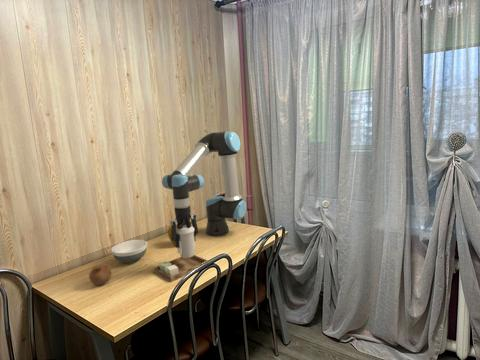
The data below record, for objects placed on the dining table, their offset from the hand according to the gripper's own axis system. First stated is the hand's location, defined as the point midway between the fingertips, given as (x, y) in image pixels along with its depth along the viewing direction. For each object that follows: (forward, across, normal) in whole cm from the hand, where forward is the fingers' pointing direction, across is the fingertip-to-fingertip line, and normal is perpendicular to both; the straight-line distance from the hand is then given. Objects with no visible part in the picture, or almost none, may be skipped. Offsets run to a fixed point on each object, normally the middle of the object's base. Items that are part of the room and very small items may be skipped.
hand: (186, 250), depth 156 cm
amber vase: (+9, -14, -29) cm, 33 cm away
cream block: (+8, +11, +3) cm, 14 cm away
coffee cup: (+3, 0, 0) cm, 3 cm away
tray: (+9, +4, 0) cm, 9 cm away
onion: (+9, +36, -19) cm, 41 cm away
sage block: (+8, +11, -3) cm, 14 cm away
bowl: (+9, +15, -32) cm, 36 cm away
